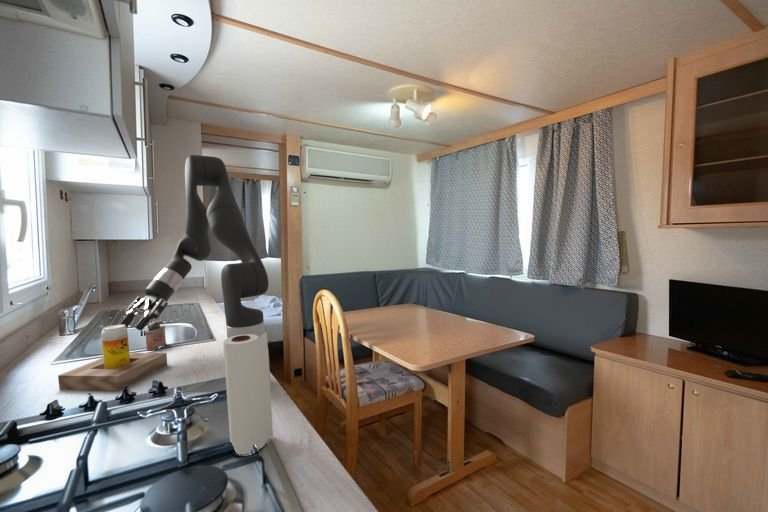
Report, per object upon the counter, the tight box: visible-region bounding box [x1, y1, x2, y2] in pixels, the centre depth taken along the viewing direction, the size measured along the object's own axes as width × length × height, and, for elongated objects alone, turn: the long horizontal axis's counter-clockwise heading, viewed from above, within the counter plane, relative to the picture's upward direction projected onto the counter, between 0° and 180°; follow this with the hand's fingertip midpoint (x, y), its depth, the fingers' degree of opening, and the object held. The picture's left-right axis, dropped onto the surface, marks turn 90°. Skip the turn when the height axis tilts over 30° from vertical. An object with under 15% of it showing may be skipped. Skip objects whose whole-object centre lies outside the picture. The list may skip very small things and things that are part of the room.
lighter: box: [144, 319, 167, 352], centre depth 129 cm, size 8×3×10 cm, turn 171°
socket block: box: [57, 352, 168, 392], centre depth 104 cm, size 18×18×4 cm
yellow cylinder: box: [100, 324, 130, 369], centre depth 103 cm, size 6×6×15 cm
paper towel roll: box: [222, 332, 274, 455], centre depth 66 cm, size 7×6×21 cm
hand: (129, 327), depth 107 cm, fingers open, 8 cm apart
